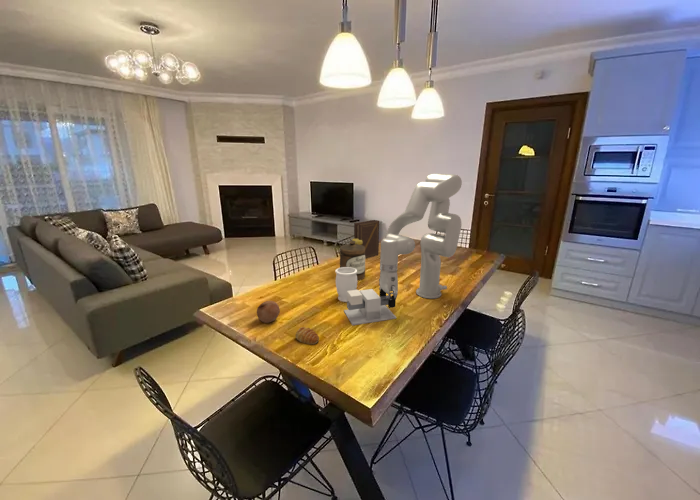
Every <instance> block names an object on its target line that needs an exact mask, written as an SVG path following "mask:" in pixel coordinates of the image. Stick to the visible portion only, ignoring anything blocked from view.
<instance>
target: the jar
mask: <svg viewBox="0 0 700 500" xmlns="http://www.w3.org/2000/svg"><path fill="white" fill-rule="evenodd" d="M335 274H336V276H335V287H336V292H337V294H338V296H337V299H338V300H339V301H340V302H343V303H347V301H348V300H347V291H351V290H357V287H358V281H357V275H356V274H357V269H355V268H352V267H342V268H340V267H338V268H336V269H335Z"/></svg>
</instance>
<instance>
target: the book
mask: <svg viewBox="0 0 700 500" xmlns="http://www.w3.org/2000/svg"><path fill="white" fill-rule="evenodd" d="M352 240H353V241H355V244H359V245H363V246H365V260H366V259H370V258H373V257H377V256H379V251H380V250H379V248H380V247H379V246H380V220H376V219H373V220H372V219H371V220H366V221H365V220H364V221H359V222H355V223H354V224H353V238H352V239H351V241H352Z"/></svg>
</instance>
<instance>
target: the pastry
mask: <svg viewBox="0 0 700 500" xmlns="http://www.w3.org/2000/svg"><path fill="white" fill-rule="evenodd" d="M295 338H296V340H297V341H299V343H303V344H307V345H315V344H318V342H319V341H320V336H319V335H318V333H316V331H314V330H313V329H312V328H310V327H305V326H302V327H299V329H298V330H297V331H296V333H295Z"/></svg>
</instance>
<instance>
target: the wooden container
mask: <svg viewBox="0 0 700 500" xmlns="http://www.w3.org/2000/svg"><path fill="white" fill-rule="evenodd" d="M342 267H352V268H355V269H357V274H356V275H357V282H358V281H361V280H364V279H365V277H366V259H365V246H363V245H359V244H355V241H353V240H352V239H351V240H350V241H349V243H347V244H346V243H345V244H342V245H341V246H340V247H339V268H342Z"/></svg>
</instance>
